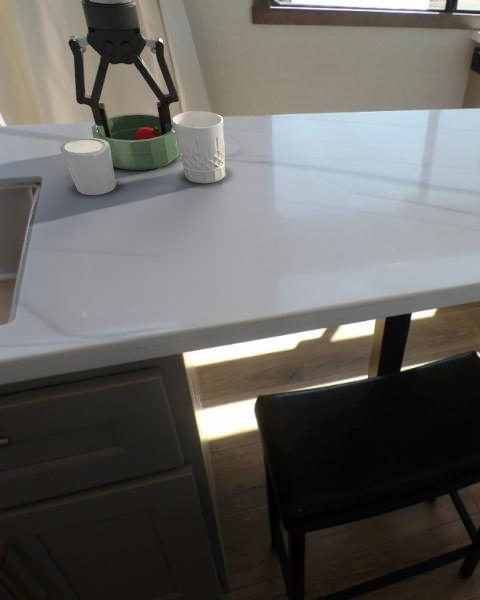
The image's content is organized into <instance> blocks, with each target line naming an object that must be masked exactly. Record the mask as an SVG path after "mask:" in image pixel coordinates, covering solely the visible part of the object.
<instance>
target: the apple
mask: <svg viewBox="0 0 480 600" xmlns="http://www.w3.org/2000/svg"><path fill="white" fill-rule="evenodd" d="M159 131H160V130H159V128H157V127H154V128H153V129H152V128H148V127H145V128H141V129H139V130H138V131H137V133H136V135H135V140H145V139H151V138H155V137H159V136H160V135H159V133H158V132H159Z"/></svg>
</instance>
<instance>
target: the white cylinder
mask: <svg viewBox="0 0 480 600" xmlns="http://www.w3.org/2000/svg"><path fill="white" fill-rule="evenodd" d="M59 149H60V152H61V155H62V157H63V159H64V162H65V164H66V167H67V169H68V171H69V175H70V176H71V178H72V181H73V184H74V185H75V188H76V190H77V192H78V193H80V194H82V195H86V196H97V195H99V196H100V195H104V194H107V193H110V192H112V191H113V190H115V188H116V186H117V185H116V184H117V183H116V177H115V170H114V166H113V163H112V156H111V149H110V145H109V142H107V141H105V140H101V139H97V138H94V137H93V138H92V137H84V138H77V139H72V140H68V141H66V142H64V143H62V144H61V145H60V146H59Z"/></svg>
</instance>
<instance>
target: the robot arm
mask: <svg viewBox="0 0 480 600" xmlns="http://www.w3.org/2000/svg"><path fill="white" fill-rule="evenodd" d="M81 6H82V11H83V14H84V19H85V23H86V28H87V33H86V35H85V36H79V37H77V36H75V35H72V36H71V35H70V36H69V39H68V46H69V49H70V51H71V53H72V55H73V67H74V69H73V70H74V83H75V84H74V85H75V86H74V87H75V100H76V101H75V102H76V103H77V104H79V105H86V106H88V107H90V109H91V114H92V117H93V120H94V124H96V125H97V126H103V128H104V132H105V136H106V137H108V138H112V139H113V137H112V133H111V129H110V125H109V121H108V117H109V116H108V114H107V110H106V106H105V103H104V102H100V100H101V96H102V92H103V89H104V84H105V80H106V76H107V73H108V70H109V66H110V64H111V65H120V64H124V65H134V67H135V68H136V70H137V71H138V72H139V73H140V75H141V76H142V77H143V79H144V81H145V82H146V84H147V85H148V86H149V89H150V90H151V91H152V93H153V94H154V95H155V97H156V99H157V100H158V101H156V108H157V113H158V114H157V115H159V120H160V125H161V131H162V135H164V134H166V127H165V123H171V120H172V117H171V111H170V110H171V109H170V105H171V104H174V103H178V102H179V101H180V97H179V94H178V90H177V88H176V86H175V82H174V80H173V77H172V74H171V71H170V68H169V66H168V63H167V60H166V56H165V46H164V40H163V39H162V38H161V37H156V38H151V37H146V36H145V34H144V33H143V31H142V30H141V24H140V18H139V12H138V8H137V3H136V2H135V1H134V0H81ZM87 46H90V47H91V48H92V49H93V50H94V51H95V52H96V53H97V54H98V55H99V56H100V58H99V62H98V66H97V70H96V74H95V78H94V82H93V86H92V90H91V94H90V95H89V94H86V80H85V79H86V78H85V77H86V76H85V75H86V74H85V58H84V54H85V53H86V52H87ZM145 47H148V48H149V50H150V52H151V53H152V54H153V55H155V57H156V61H157V64H158V66H159V69H160V72H161V75H162V77H163V81H164V83H165V86H166V88H167V91H168V93H165V92H164V90H163V89H162V87H161V85H160V84H159V82H158V81H157V79H156V78H155V76H154V75H153V73H152V72H151V70H150V69H149V67H148V66H147V64H146V62H145V60H144V59H143V57H142V56H141V55H142V52H143V51H144V49H145Z"/></svg>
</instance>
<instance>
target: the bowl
mask: <svg viewBox="0 0 480 600" xmlns="http://www.w3.org/2000/svg"><path fill="white" fill-rule="evenodd" d="M107 117H108V121H109V125H110V129H111V133H112V137H113V139H112V138H108V137H106V136H105V132H104V128H103V126H97V125H96V124H95V123H94V124H93V125H92V126H91V133H92V137H93V138H97V139H101V140H105V141H107V142H109V145H110V149H111V156H112V163H113V168H117V169H120V170H129V171H146V170H153V169H157V168H158V169H159V168H161V167H164V166H167V165H169V164H171V163H172V162H173V161H175V160H176V159H178V158H179V157H180V153H179V149H178V144H177V140H176V135H175V131H174V126H173V122H172V119H171V123H165V127H166V134H164V135H162V131H161V125H160V120H159V114H154V113H142V112H135V113H134V112H133V113H122V114H115V115H111V116H107ZM145 127H148V128H152V129H153V128H154V127H157V128H159V130H160V131H159V132H158V133H159V135H160V136H159V137H155V138H151V139H145V140H135V135H136V133H137V131H138V130H139V129H141V128H145Z"/></svg>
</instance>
